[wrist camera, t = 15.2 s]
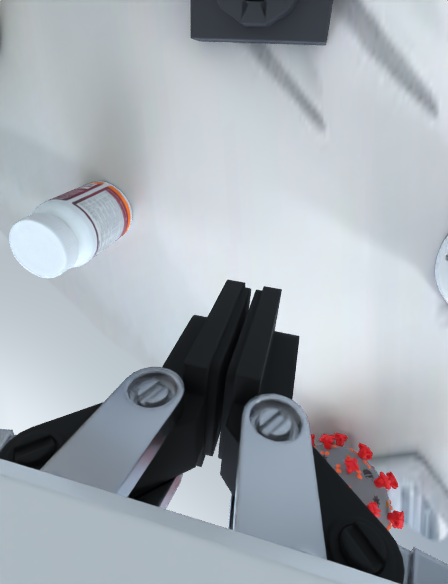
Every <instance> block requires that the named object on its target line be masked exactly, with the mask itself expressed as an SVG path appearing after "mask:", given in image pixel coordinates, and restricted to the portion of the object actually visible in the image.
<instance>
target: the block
mask: <svg viewBox="0 0 448 584" xmlns="http://www.w3.org/2000/svg"><path fill="white" fill-rule="evenodd" d="M332 4H333V0H191V38H192V39H195V40H198V41H209V42H240V43H271V44H302V45H326V42H327V36H328V29H329V23H330V17H331V10H332Z"/></svg>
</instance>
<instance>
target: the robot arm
mask: <svg viewBox="0 0 448 584" xmlns="http://www.w3.org/2000/svg"><path fill="white" fill-rule="evenodd" d="M447 254H448V236H447V237H446V239H445V240H444V242H443V244H442V246H441V248H440V250H439V253H438V255H437V260H436V265H435V279H436V282H437V286H438V289H439V291H440V292H441V294H442V296H443V298H444V299H445V301H446V302H447V303H448V255H447ZM281 291H282V289H276V288H271V287H265V286H264V287H263V290H262V291H261V290H256V291H255V294H254V297H253V300H252V302H251V305H250V308H249V304H250V296H251V289H250V288H245V283H243V282H238V281H232V280H227V281H226V283H225V285H224V287H223V289H222V291H221V293H220V294H219V296H218V298H217V300H216V302H215V304H214V306H213V308H212V310H211V312H210V313H209V315H208V317H202V316H198V315H194V316H193V317H192V318H191V320H190V321H189V323H188V325H187V326H186V328H185V330H184V331H183V333H182V335H181V336H180V338H179V340H178V341H177V343H176V345H175V346H174V348H173V350H172V352H171V353H170V355H169V357H168V358H167V360H166V362H165V363H164V365H163V367H148V368H144V369H141V370H138V371H136V372H134V373H133V374H131V375H130V376H129V377H127V378H126V379H125V380H124V382H122V384H121V385H120V386H119V387H118V388H117V389H116V390H115V391H114V392H113V393H112V394H111V395H110V396H109V398H107V399H106V400H105V402H103V403H100V404H97V405H94V406H91V407H88V408H86V409H83V410H80V411H77V412H74V413H72V414H69V415H66V416H63V417H60V418H57V419H54V420H51V421H49V422H46V423H43V424H40V425H37V426H35V427H31V428H29V429H27V430H25V431H23V432H21V433H19V434H18V435H14V433H13V430H5V429H0V584H448V564H446V563H444V562H442V561H440V560H438V559H436V558H434V557H432V556H431V555H428V554H427V553H425V552H423V551H421V550H419V549H417V548H415V547H414V548H413V549H412V550H411V551H409V550H407V549H406V548H404V547H402V546H400V545H398V544H397V543H396V541H395V540H394V538H393V537H392V536H391V534H390V533H389V531H388V530H387V529H386V528H385V526H384V525H383V524H382V523H381V522H380V521H379V520H378V519H377V517H376V516H375V515H374V514H373V513H372V512H371V511H370V509H369V508H368V507H367V506H366V505H365V504H364V503H363V502H362V500H361V499H360V498H359V497H358V496H357V495H356V494H355V493H354V491H353V490H352V489H351V488H350V487H349V486H348V485H347V484H346V482H345V481H344V480H343V479H342V478H341V477H340V476H339V475H338V473H337V472H336V471H335V470H334V469H333V468H332V467H331V465H330V464H329V463H328V462H327V461H326V460H325V459H324V458H323V456H322V455H321V454H320V453H319V452H318V451H317V450H316V449H315V447H314V446H313V445H312V442H311V434H310V426H309V421H308V418H307V415H306V413H305V412H304V411H303V409H302V408H301V407H300V406H299V405H298V404H297V403H296V402H294V401H293V400H292V397H293V388H294V380H295V371H296V362H297V353H298V345H299V336H296V335H291V334H286V333H281V332H276V331H275V325H276V320H277V314H278V308H279V303H280V297H281ZM220 431H221V433H220ZM219 435H220V443H219V454H218V457H219V458H220V459H222V462H221V472H220V474H221V476H222V478H223V480H224V481H225V483H226V485H227V486H228V488H229V490H230V491H231V500H230V512H229V524H228V529H227V528H224V527H221V526H217V525H214V524H211V523H208V522H205V521H202V520H198V519H195V518H192V517H189V516H185V515H182V514H179V513H176V512H173V511H169V510H166V508H167V506H168V504H169V502H170V500H171V499H172V497H173V495H174V493H175V492H176V490H177V488H178V486H179V484H180V482H181V479H182V475H183V473H184V472H186V471H188V470H191V469H192V468H195V467H196V466H200V467H201V466H202V464H203V461H204V458H205V455H209V456H213V454H214V450H215V447H216V444H217V441H218V438H219Z"/></svg>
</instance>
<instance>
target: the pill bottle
mask: <svg viewBox="0 0 448 584" xmlns="http://www.w3.org/2000/svg"><path fill="white" fill-rule="evenodd" d="M131 222H132V209H131V206H130V204H129V201H128V199H127V198H126V197H125V195H124V194H123V193H122V192H121V191H120V190H119V189H118V188H117V187H115V186H114V185H112V184H109V183H106V182H101V181H97V182H92V183H89V184H86V185H84V186H82V187H79V188H77V189H74V190H72V191H69V192H67V193H65V194H62V195H60V196H57V197H55V198H53V199H50V200H48V201H45V202H44V203H42V204H40V205H39V206H37V207H36V208H35V210H34V211H33V213H32V215H30V216H28V217H26V218H24V219H21V220H19V221H18V222H16V223H15V224H14V225H13V226H12V228H11V230H10V234H9V242H10V246H11V250H12V252H13V254H14V256H15V258H16V259H17V260H18V262H19V263H20V264H21V265H22V266H23V267H24V268H25V269H27V270H28V271H29V272H31V273H33V274H34V275H36V276H40V277H43V278H54V277H57V276H59V275H61V274H62V273H64V272H65V271H66V270H68V269H69V268H73V267H79V266H81V265H83V264H85V263H87V262H88V261H90V260H91V259H92V258H94V257H95V256H96V255H98V254H99V253H100V252H102V251H103V250H104V249H106V248H107V247H108V246H110V245H111V244H112V243H113V242H115V241H116V240H117V239H119V238H120V237H121V236H123V235H124V234H125V233H126V232H127V231H128V229H129V227H130V225H131Z"/></svg>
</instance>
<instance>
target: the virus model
mask: <svg viewBox="0 0 448 584" xmlns="http://www.w3.org/2000/svg"><path fill="white" fill-rule="evenodd" d="M334 434H335V435H326V434H323V435H322V436H321V437H322V438H321V437H320V438H319V440H320V441H321V442H323V443H324V444H323V445H320V446H316V447H315V444H314V437H315V435H311V442H312V445H313V446H314V447H315V449H316V450H317V451H318V452H319V453H320V454H321V455H322V456H323V458H324V459H325V460H326V461H327V462H328V463H329V464H330V465H331V467H332V468H333V469H334V470H335V471H336V472H337V473H338V475H339V476H340V477H341V478H342V479H343V480H344V481H345V482H346V484H347V485H348V486H349V487H350V488H351V489H352V490H353V491H354V493H355V494H356V495H357V496H358V497H359V498H360V499H361V500H362V502H363V503H364V504H365V505H366V506H367V507H368V508H369V509H370V511H371V512H372V513H373V514H374V515H375V516H376V517H377V519H378V520H379V521H380V522H381V523H382V524H383V525H384V526H385V528H386V529H387V530H389V529H390V528H391V523H392V526H393V527H394V528H400V529H402V527H403V522H404V513H403V511H402V512H398V511H395V510H394V511H393V513H391V510H392V506H391V505H390V504H391V501H390V500H389V497H388V494H387V490H386V489H390V488H391V486H392V488H394V489H396V488H397V487H398V483H397V481H396V479H395V477H394V475H393V474H392V472H390V473H389V472H388V473H387V474H386V475H387V476H386V475H384V473H383V472H380V476H379V475H378V473H377V472H376V471H375V469H374V467H373V466H371V465H370V464H369V463H368V462H367V460H368V459H372V455H373V453H372V452H371V450H370V449H369V447H367V446H366V445H363V444H361V443H359V445H358V446H359V448H360V450H359V453H357V452H354V450H353V449H350V450H349V449H347V448H344V447H343V443H344V442H346V441H347V438H348V437H347V436H346V435H342V434H339V433H334ZM333 439H335V440H336V445H333V444H332V443H333ZM390 522H391V523H390Z"/></svg>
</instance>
